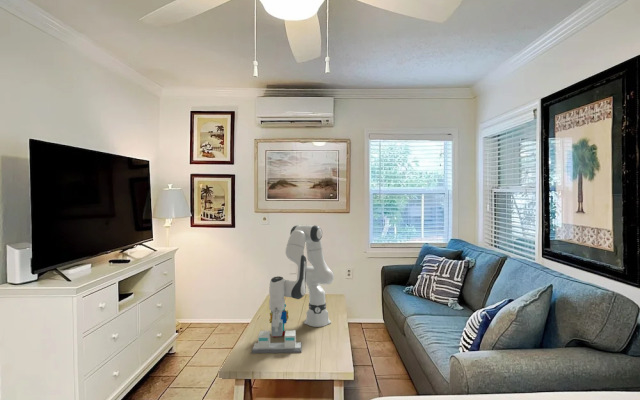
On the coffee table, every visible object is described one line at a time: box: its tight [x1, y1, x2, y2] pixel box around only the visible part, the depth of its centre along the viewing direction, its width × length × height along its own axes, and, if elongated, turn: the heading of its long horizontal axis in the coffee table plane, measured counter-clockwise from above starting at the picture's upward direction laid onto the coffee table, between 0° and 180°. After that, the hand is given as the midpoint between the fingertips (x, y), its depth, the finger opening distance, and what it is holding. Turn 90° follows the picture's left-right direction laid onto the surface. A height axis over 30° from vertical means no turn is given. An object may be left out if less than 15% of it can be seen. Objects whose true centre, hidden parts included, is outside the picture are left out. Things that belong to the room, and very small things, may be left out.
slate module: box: [270, 320, 283, 337], centre depth 207 cm, size 4×6×8 cm
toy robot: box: [269, 303, 289, 338], centre depth 227 cm, size 12×6×25 cm, turn 111°
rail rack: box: [251, 329, 303, 354], centre depth 208 cm, size 11×28×9 cm, turn 91°
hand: (277, 329), depth 207 cm, fingers closed on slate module, 4 cm apart
